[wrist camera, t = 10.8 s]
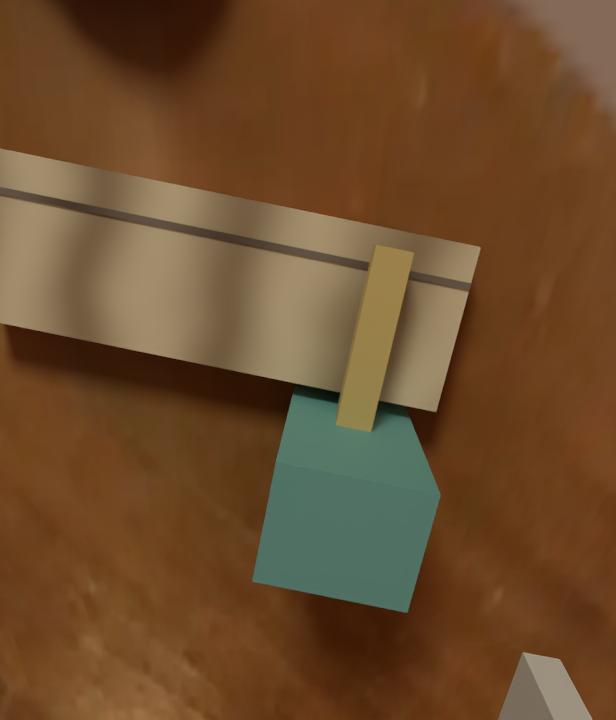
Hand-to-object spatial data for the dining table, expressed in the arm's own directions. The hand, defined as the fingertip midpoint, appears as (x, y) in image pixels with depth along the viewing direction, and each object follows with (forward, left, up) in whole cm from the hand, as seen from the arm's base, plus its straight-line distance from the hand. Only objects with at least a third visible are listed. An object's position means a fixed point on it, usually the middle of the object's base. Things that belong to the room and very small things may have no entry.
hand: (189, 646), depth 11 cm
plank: (-4, +5, -19) cm, 20 cm away
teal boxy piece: (+4, +2, -19) cm, 19 cm away
